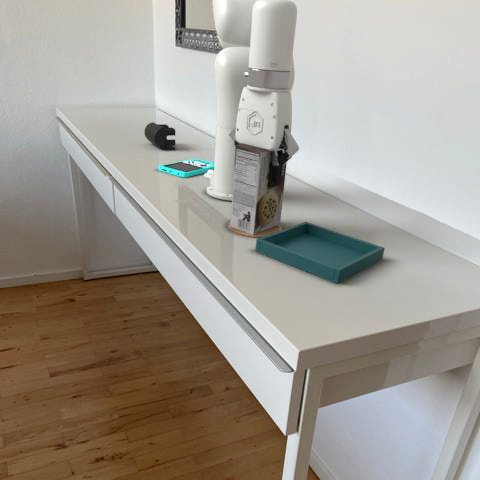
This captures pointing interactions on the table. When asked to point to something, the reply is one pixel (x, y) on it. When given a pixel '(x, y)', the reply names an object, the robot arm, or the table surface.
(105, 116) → the table surface
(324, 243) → the tray
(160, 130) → the end cap
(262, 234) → the coaster
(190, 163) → the handheld game console
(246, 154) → the coffee box
